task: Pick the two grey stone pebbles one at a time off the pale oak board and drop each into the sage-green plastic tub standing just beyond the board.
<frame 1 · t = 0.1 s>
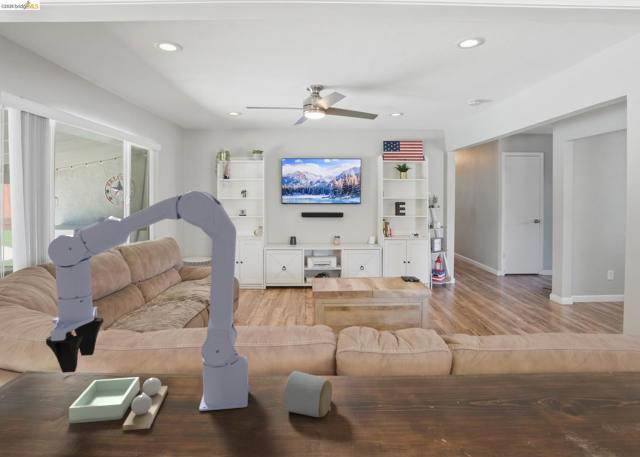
hand: (78, 362, 75), 10 cm above the table, tool pointing down, fingers open, 7 cm apart
pebble b: (141, 404, 73), point 3 cm above the table, touching oak board
pebble a: (151, 386, 80), point 3 cm above the table, touching oak board
tub: (107, 405, 78), on the table
oak board: (147, 408, 77), on the table
grey cylinder tan end: (309, 409, 77), on the table
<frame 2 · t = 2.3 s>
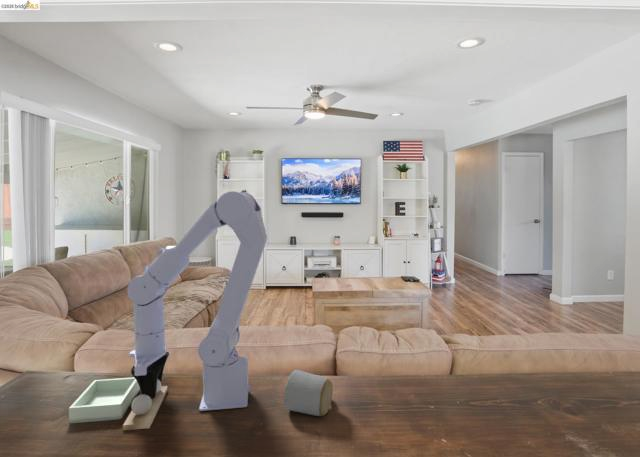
hand: (152, 393, 80), 1 cm above the table, tool pointing down, fingers closed on pebble a, 3 cm apart
pebble a: (151, 386, 80), point 3 cm above the table, touching gripper, oak board
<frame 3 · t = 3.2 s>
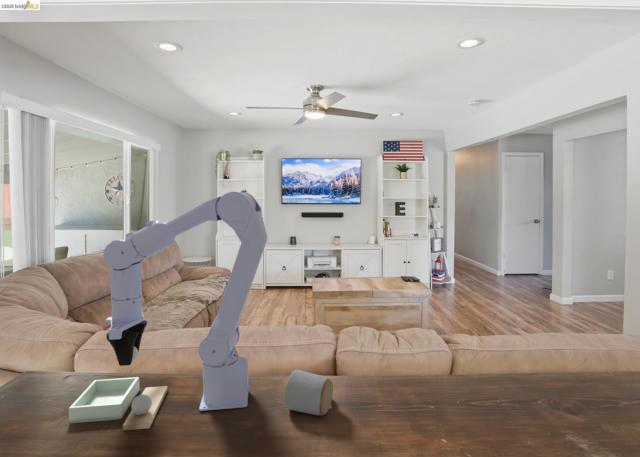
hand: (128, 360, 79), 9 cm above the table, tool pointing down, fingers closed on pebble a, 3 cm apart
pebble a: (128, 354, 79), point 10 cm above the table, touching gripper
everything else where it was.
when the fingers open (4 cm above the table, at t = 4.3 s): pebble a drops 3 cm, resting on tub.
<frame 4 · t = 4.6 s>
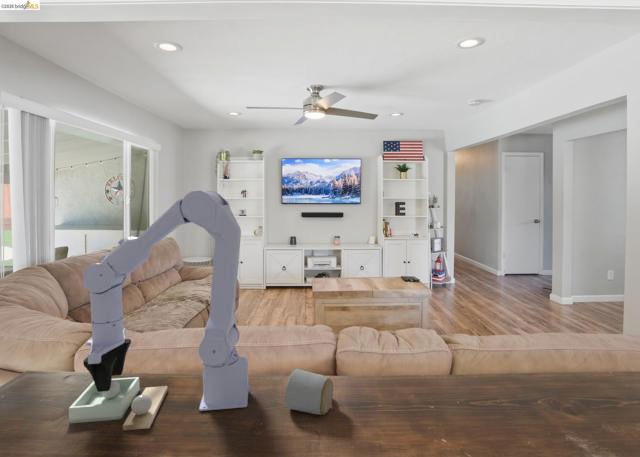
hand: (110, 382, 79), 4 cm above the table, tool pointing down, fingers open, 6 cm apart
pebble a: (110, 389, 80), point 2 cm above the table, touching tub
everything else where it was.
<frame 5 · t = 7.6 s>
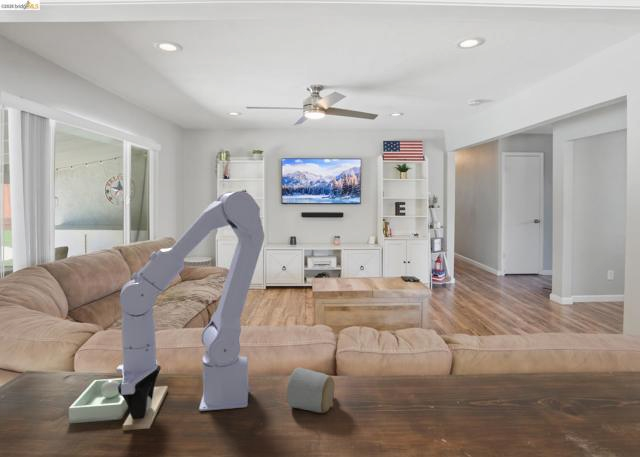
hand: (141, 411, 73), 1 cm above the table, tool pointing down, fingers closed on pebble b, 3 cm apart
pebble b: (141, 404, 73), point 3 cm above the table, touching gripper, oak board
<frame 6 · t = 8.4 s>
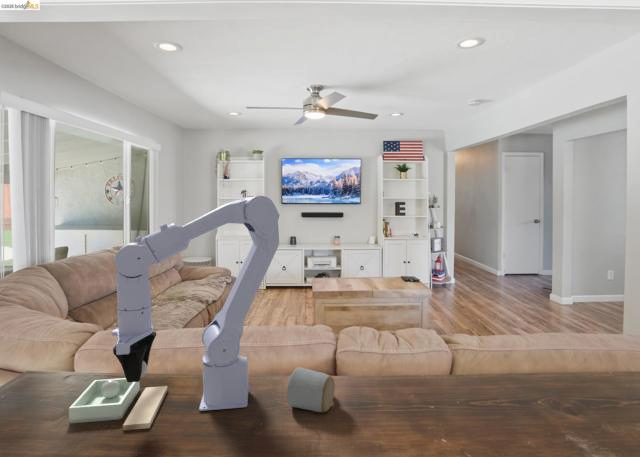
hand: (137, 376, 73), 8 cm above the table, tool pointing down, fingers closed on pebble b, 3 cm apart
pebble b: (136, 369, 72), point 10 cm above the table, touching gripper
when the fingers open (4 cm above the table, at t = 9.7 s): pebble b drops 3 cm, resting on tub.
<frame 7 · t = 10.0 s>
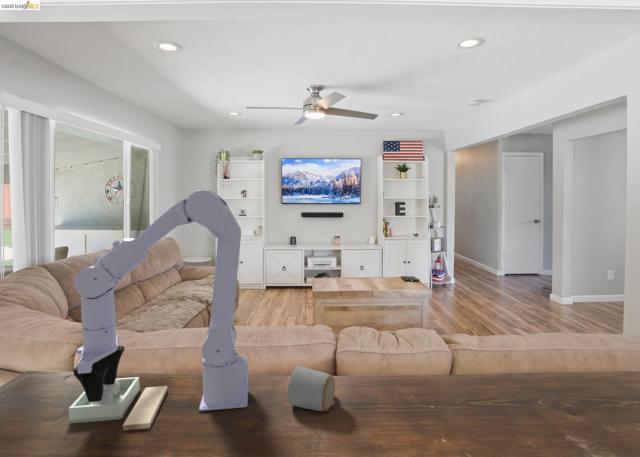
hand: (102, 391, 75), 4 cm above the table, tool pointing down, fingers open, 6 cm apart
pebble b: (102, 399, 76), point 2 cm above the table, touching tub
pebble a: (110, 388, 80), point 2 cm above the table, tilted 14°, touching gripper, tub
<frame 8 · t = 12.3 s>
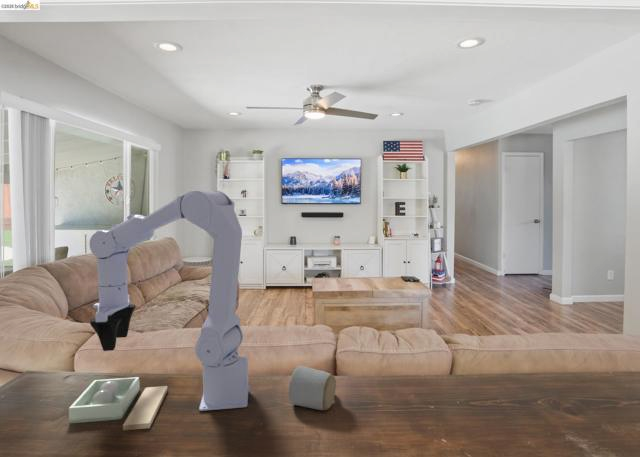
hand: (115, 343, 85), 10 cm above the table, tool pointing down, fingers open, 7 cm apart
pebble a: (109, 389, 79), point 2 cm above the table, tilted 9°, touching tub
at the end: pebble a inside the target area on the tub (1.7 cm from its centre), point 2.4 cm above the tub's base; pebble b inside the target area on the tub (2.0 cm from its centre), point 2.4 cm above the tub's base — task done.
